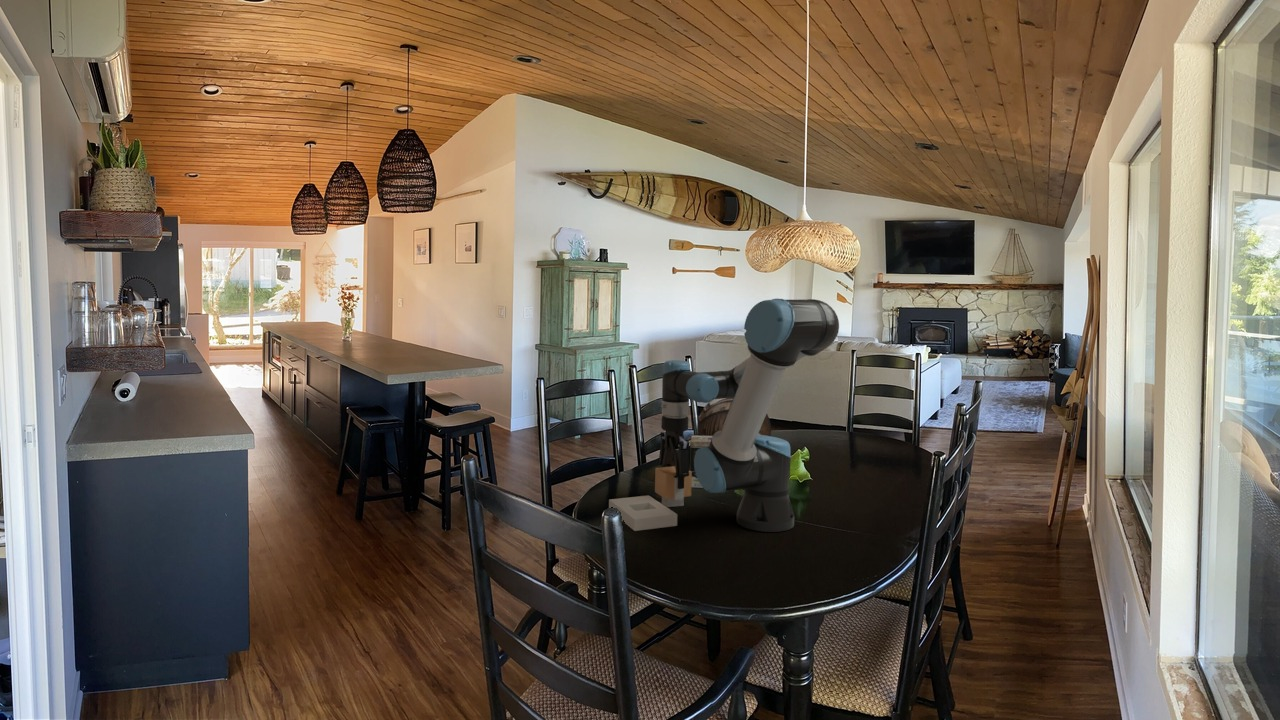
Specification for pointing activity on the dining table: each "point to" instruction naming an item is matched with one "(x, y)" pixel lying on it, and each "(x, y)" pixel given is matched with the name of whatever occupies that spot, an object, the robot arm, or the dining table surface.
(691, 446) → the tea box
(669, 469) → the plug
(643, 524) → the socket plate
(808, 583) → the dining table surface
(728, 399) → the sphere
